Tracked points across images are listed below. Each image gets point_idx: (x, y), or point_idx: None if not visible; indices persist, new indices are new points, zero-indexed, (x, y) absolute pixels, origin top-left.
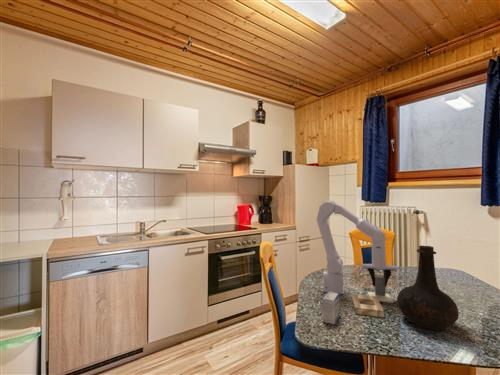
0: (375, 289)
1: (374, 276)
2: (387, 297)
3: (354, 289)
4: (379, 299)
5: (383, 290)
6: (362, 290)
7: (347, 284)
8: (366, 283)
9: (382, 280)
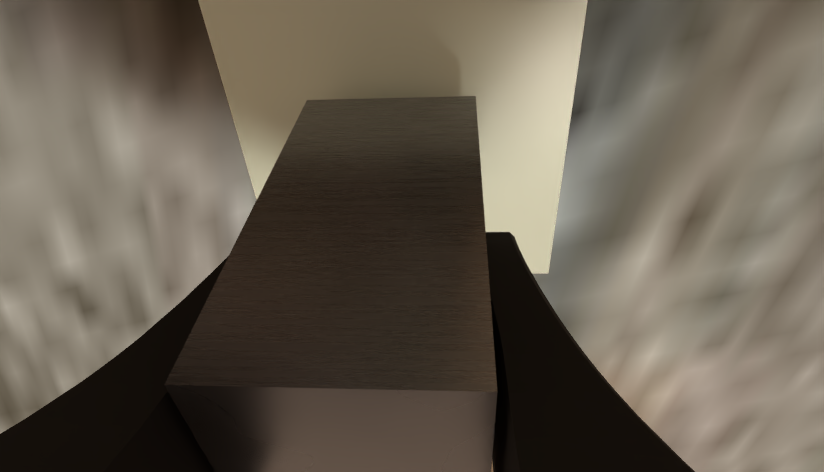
0: (478, 151)
1: (517, 418)
2: None
3: (693, 318)
4: (419, 10)
5: (318, 152)
6: (591, 313)
7: (721, 419)
8: (491, 465)
9: (276, 310)
